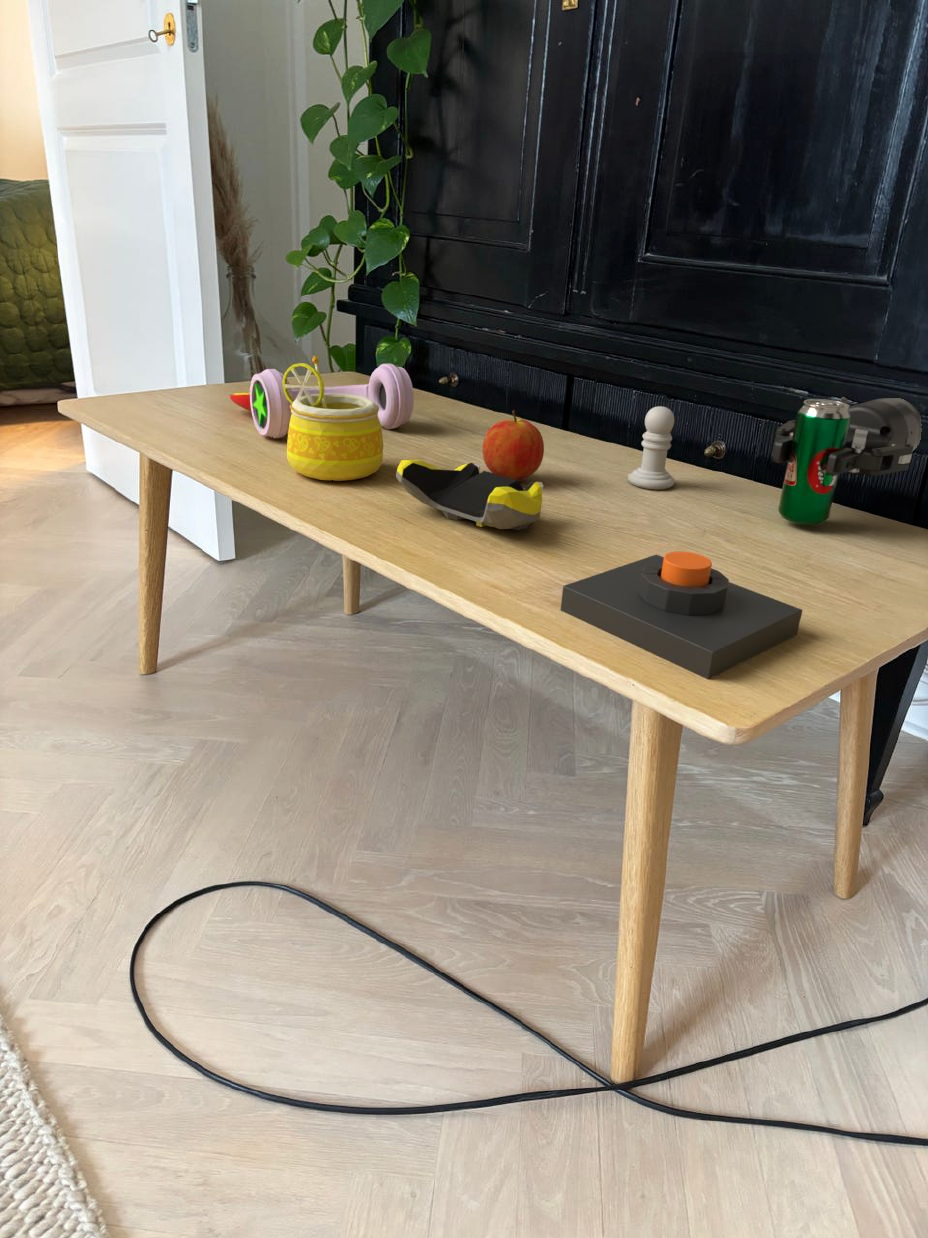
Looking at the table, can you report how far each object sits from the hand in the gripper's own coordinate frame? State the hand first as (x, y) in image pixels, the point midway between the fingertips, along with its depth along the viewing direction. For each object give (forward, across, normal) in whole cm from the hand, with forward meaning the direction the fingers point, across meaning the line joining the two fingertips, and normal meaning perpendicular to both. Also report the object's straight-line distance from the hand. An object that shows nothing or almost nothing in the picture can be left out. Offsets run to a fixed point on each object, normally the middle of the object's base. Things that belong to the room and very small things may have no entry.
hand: (804, 458), depth 90 cm
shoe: (+24, -22, +7) cm, 33 cm away
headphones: (+13, -63, +7) cm, 65 cm away
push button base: (+29, +5, +7) cm, 30 cm away
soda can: (-3, 0, +7) cm, 7 cm away
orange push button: (+29, +5, +4) cm, 29 cm away
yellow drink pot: (+25, -44, +7) cm, 51 cm away
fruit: (+11, -29, +7) cm, 32 cm away
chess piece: (-2, -18, +8) cm, 20 cm away
